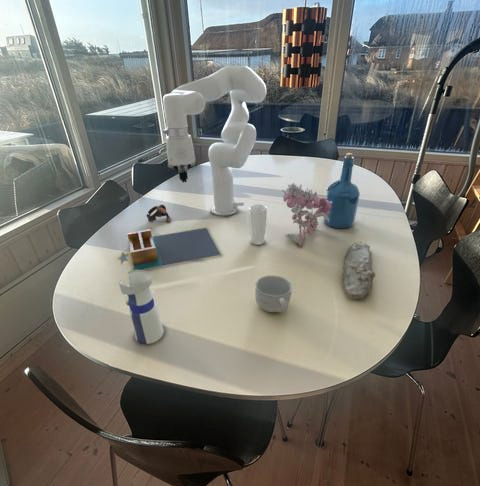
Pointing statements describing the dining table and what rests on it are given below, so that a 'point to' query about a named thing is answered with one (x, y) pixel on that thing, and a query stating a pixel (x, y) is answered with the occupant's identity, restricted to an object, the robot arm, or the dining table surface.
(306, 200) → the flower
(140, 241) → the rack
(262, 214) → the drinking glass
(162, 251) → the mat
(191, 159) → the robot arm
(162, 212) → the pottery mug
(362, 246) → the long grey stone
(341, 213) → the wine bottle
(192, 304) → the dining table surface
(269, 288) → the teacup
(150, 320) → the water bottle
